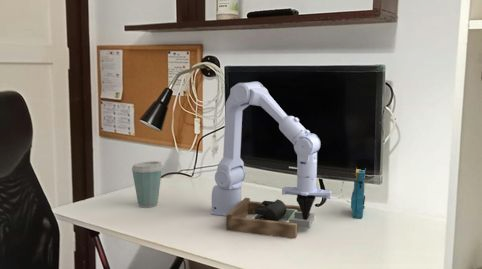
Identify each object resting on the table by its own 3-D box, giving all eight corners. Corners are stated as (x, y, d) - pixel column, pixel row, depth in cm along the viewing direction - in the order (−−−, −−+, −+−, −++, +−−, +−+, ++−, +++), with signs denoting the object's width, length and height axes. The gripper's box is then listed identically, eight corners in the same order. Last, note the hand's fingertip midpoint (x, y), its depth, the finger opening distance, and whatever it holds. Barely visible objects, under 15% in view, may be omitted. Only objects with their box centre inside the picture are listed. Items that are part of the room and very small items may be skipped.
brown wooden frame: (226, 230, 151) (226, 214, 150) (245, 212, 168) (245, 197, 167) (295, 238, 145) (295, 221, 144) (307, 218, 161) (308, 203, 161)
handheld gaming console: (363, 219, 161) (365, 173, 159) (350, 218, 162) (351, 172, 160) (364, 210, 170) (366, 166, 168) (352, 209, 171) (353, 165, 169)
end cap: (276, 231, 151) (277, 209, 150) (254, 228, 153) (254, 206, 152) (286, 220, 160) (286, 200, 159) (265, 218, 163) (265, 197, 161)
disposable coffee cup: (127, 208, 172) (126, 165, 169) (139, 199, 182) (137, 158, 180) (158, 210, 170) (156, 166, 168) (167, 201, 181) (166, 159, 178)
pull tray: (249, 229, 151) (249, 218, 150) (263, 215, 164) (263, 204, 164) (306, 236, 145) (307, 224, 145) (316, 220, 159) (316, 210, 158)
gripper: (279, 176, 149) (279, 220, 151) (329, 180, 144) (327, 226, 146) (285, 171, 155) (284, 213, 157) (333, 174, 151) (331, 218, 153)
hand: (305, 219), depth 152 cm, fingers closed
